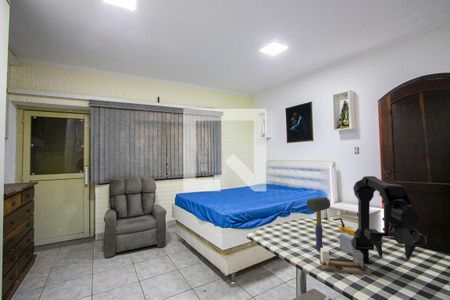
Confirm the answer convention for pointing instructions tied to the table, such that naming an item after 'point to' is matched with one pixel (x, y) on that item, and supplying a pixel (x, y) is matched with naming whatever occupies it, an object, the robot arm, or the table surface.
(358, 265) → the wooden peg rack
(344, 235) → the medicine box
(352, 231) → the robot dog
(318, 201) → the rubber mallet
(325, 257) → the slider
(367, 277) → the table surface
